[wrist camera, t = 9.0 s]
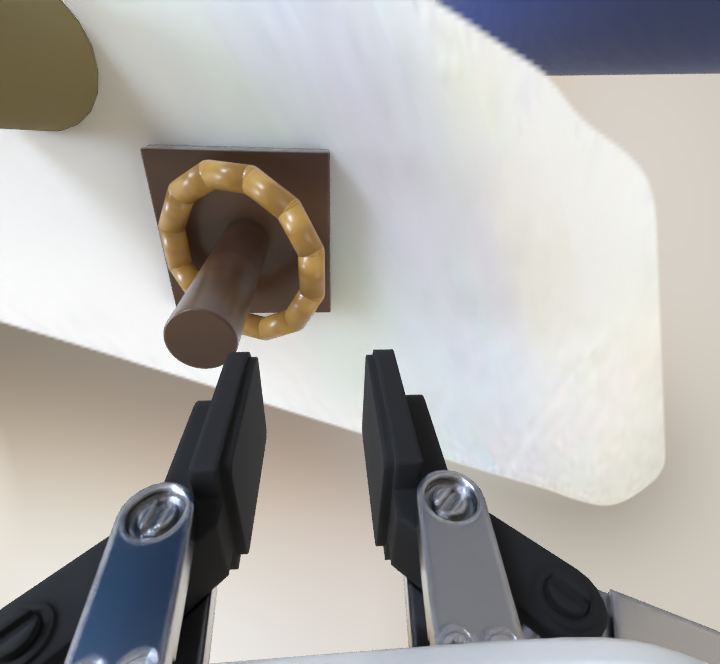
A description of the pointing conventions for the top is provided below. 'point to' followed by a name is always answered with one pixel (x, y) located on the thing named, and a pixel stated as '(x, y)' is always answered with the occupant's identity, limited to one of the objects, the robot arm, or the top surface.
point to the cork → (44, 67)
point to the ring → (274, 201)
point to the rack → (237, 245)
